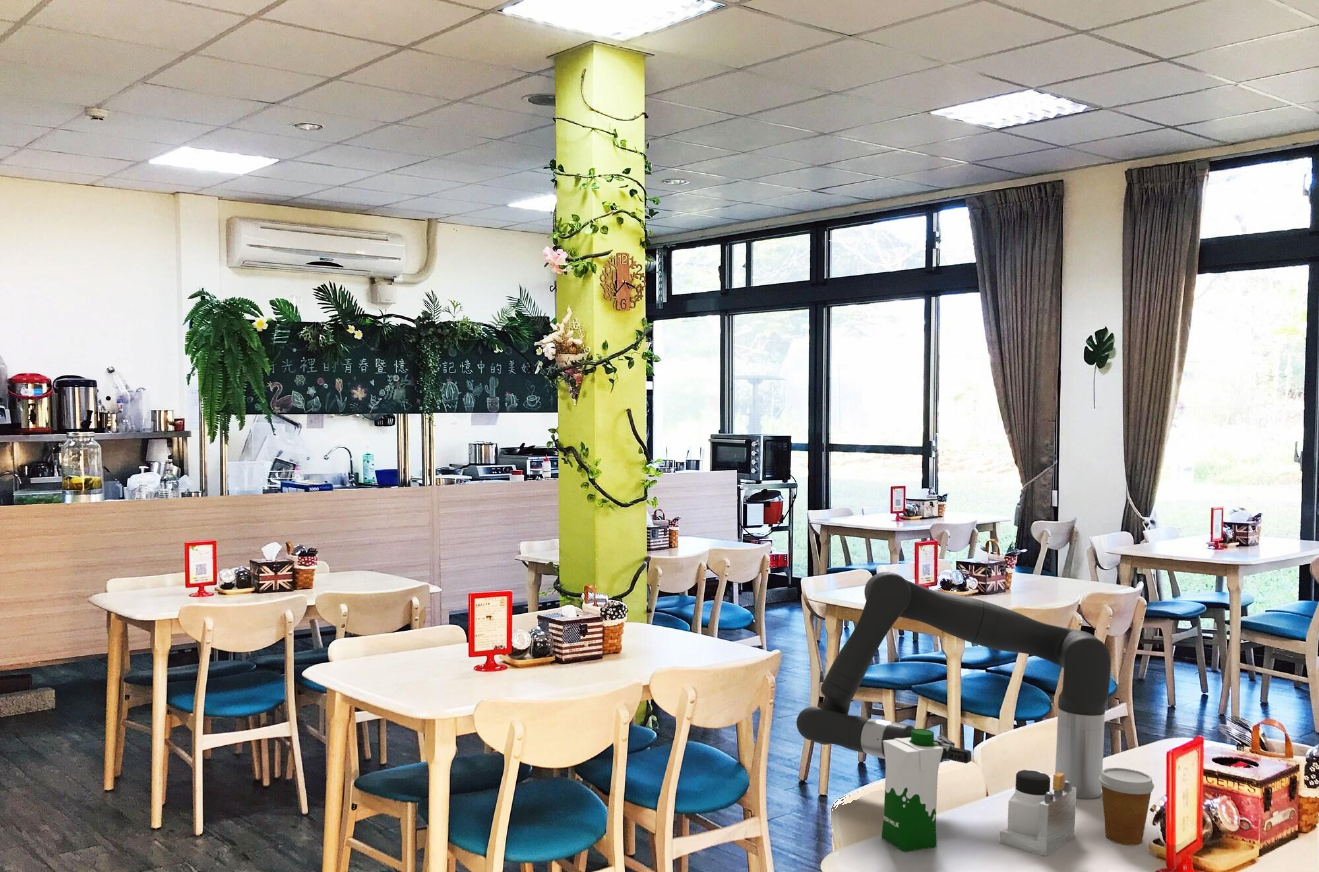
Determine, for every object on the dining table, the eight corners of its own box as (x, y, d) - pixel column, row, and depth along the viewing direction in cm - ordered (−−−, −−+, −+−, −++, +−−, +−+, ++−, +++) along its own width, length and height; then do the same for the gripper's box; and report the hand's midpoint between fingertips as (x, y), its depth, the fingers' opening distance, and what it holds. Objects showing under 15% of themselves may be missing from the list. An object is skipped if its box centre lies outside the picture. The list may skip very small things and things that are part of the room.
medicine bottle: (1046, 847, 203) (1049, 781, 203) (1006, 838, 207) (1009, 773, 207) (1054, 835, 210) (1056, 771, 209) (1014, 827, 213) (1017, 764, 213)
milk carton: (944, 848, 201) (948, 737, 200) (901, 854, 197) (906, 741, 197) (914, 831, 209) (918, 724, 208) (873, 836, 205) (877, 727, 205)
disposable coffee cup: (1127, 852, 202) (1130, 786, 202) (1085, 833, 211) (1088, 770, 211) (1163, 844, 207) (1166, 779, 206) (1120, 826, 215) (1123, 764, 215)
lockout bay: (1029, 823, 215) (1032, 757, 215) (1074, 835, 210) (1077, 767, 209) (999, 842, 204) (1002, 773, 204) (1045, 856, 199) (1048, 784, 199)
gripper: (872, 728, 222) (955, 745, 211) (904, 715, 232) (984, 730, 221) (872, 766, 222) (954, 785, 211) (904, 751, 232) (984, 768, 221)
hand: (969, 757), depth 216 cm, fingers closed
